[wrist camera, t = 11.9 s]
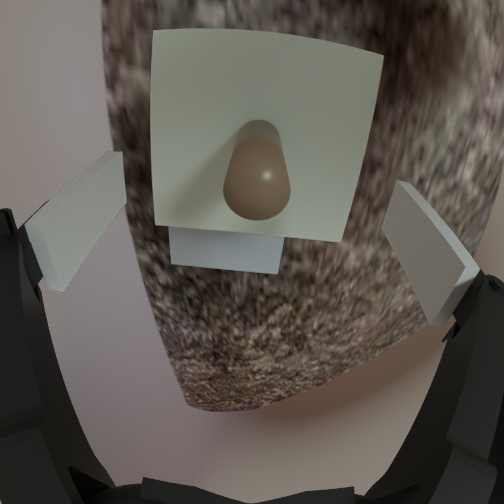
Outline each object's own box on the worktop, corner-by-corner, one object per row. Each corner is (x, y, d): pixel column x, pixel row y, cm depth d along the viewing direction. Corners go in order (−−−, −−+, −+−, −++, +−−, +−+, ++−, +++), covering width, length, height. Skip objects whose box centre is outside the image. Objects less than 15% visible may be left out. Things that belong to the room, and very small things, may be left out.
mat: (295, 171, 38) (295, 173, 38) (277, 271, 48) (277, 274, 48) (166, 160, 38) (165, 162, 37) (172, 261, 48) (171, 263, 47)
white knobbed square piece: (366, 55, 19) (455, 62, 9) (332, 219, 29) (366, 321, 18) (169, 34, 19) (87, 20, 8) (167, 203, 28) (117, 299, 18)
